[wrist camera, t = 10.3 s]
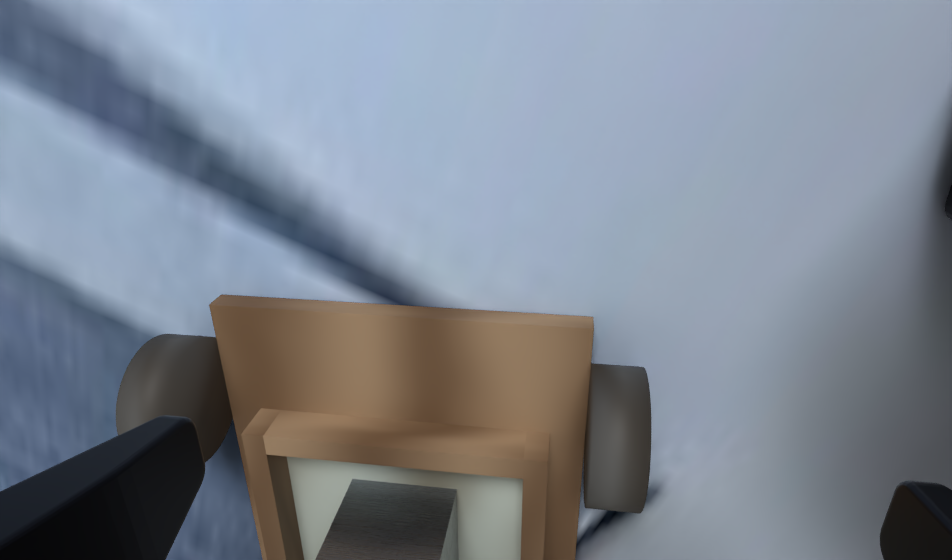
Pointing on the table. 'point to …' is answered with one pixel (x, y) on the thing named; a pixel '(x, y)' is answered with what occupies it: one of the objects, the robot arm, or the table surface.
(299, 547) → the chassis
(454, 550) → the block
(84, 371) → the table surface
